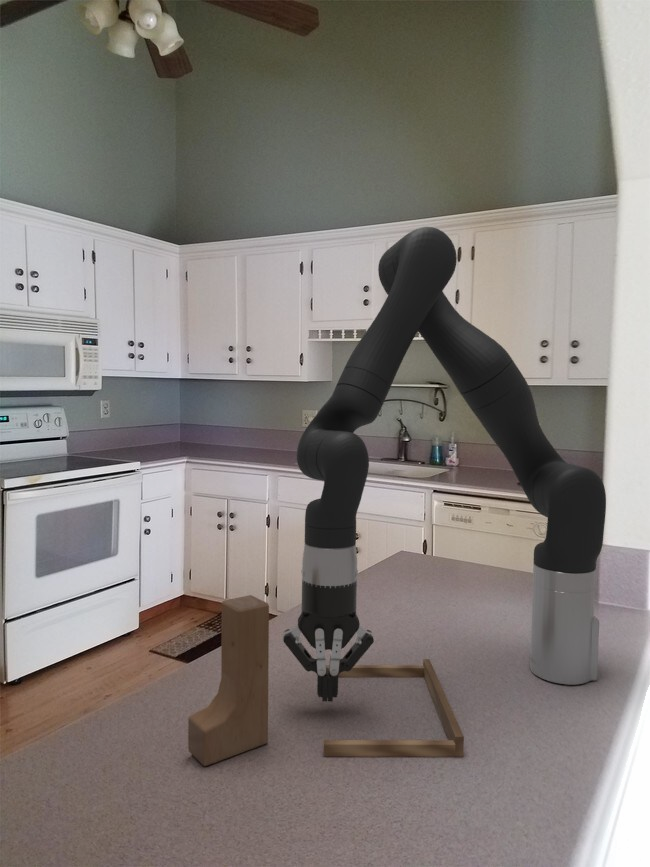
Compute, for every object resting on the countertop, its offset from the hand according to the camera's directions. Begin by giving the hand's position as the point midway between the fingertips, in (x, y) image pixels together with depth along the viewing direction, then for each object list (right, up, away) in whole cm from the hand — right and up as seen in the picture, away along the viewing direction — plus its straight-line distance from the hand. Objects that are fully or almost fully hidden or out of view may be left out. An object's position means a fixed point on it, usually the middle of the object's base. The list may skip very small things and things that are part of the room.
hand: (327, 698), depth 89 cm
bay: (+7, -2, 0) cm, 8 cm away
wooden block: (-12, -2, -9) cm, 16 cm away
